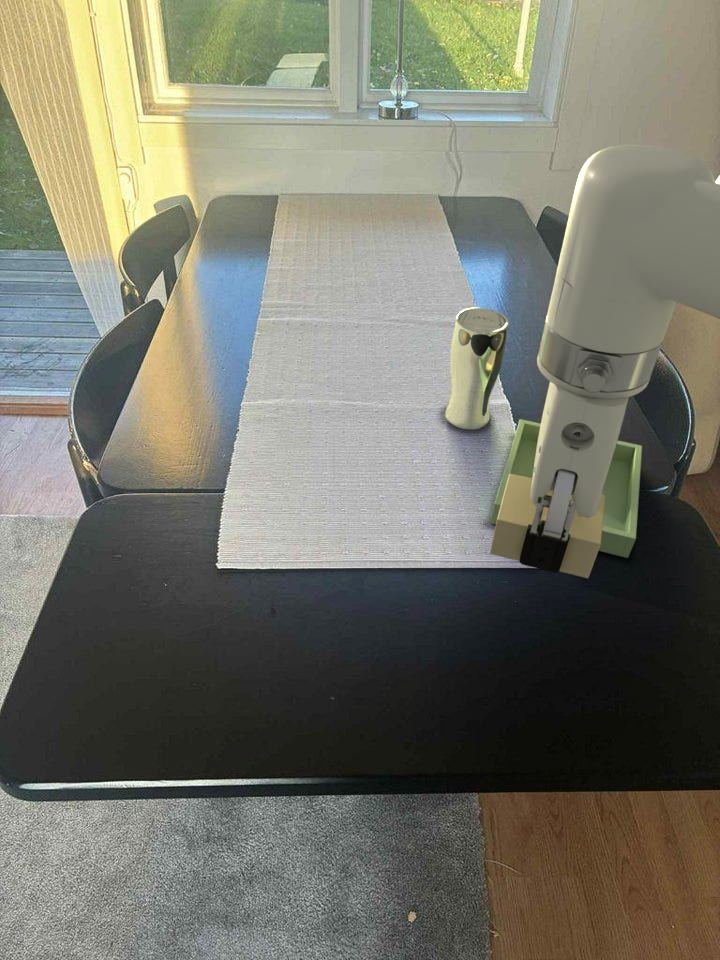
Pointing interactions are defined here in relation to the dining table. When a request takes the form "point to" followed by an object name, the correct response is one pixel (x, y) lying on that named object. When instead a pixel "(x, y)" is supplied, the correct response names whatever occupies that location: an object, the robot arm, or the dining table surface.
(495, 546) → the tan rectangular block
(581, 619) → the dining table surface
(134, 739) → the dining table surface
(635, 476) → the tray
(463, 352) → the beer glass
